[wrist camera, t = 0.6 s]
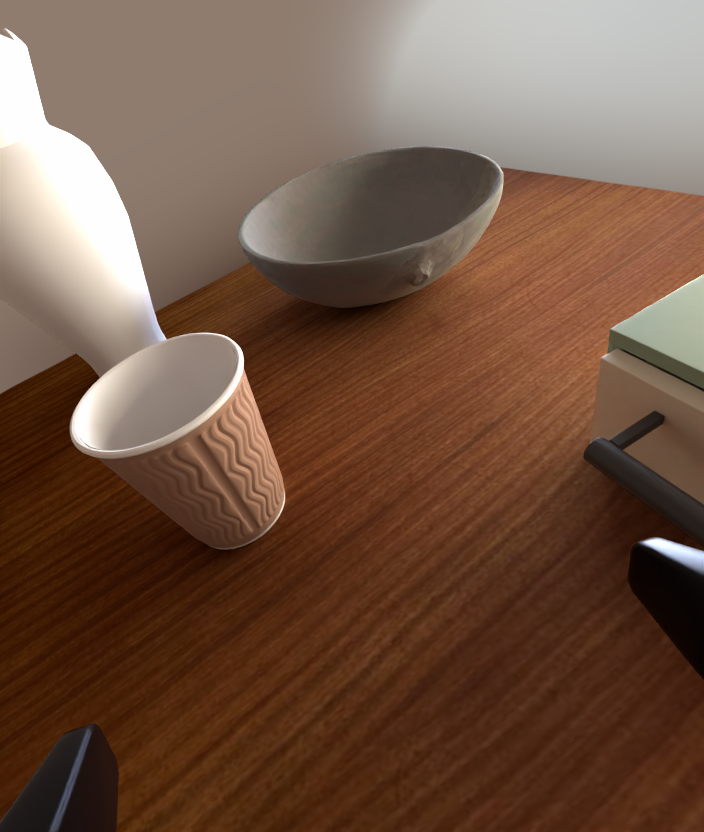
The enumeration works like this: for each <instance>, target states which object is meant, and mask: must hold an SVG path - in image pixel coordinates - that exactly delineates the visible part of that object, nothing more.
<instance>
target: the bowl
mask: <svg viewBox="0 0 704 832" xmlns="http://www.w3.org/2000/svg"><path fill="white" fill-rule="evenodd" d="M502 190H503V172H502V170H501V168H500V167H499V165H498V164H497V163H496V162H495V161H494V160H492V159H490V158H488V157H486V156H484V155H481V154H478V153H474V152H471V151H466V150H461V149H455V148H448V147H430V146H424V147H423V146H422V147H421V146H417V147H405V148H396V149H390V150H383V151H377V152H372V153H367V154H362V155H358V156H354V157H350V158H346V159H343V160H340V161H337V162H334V163H331V164H328V165H325V166H322V167H320V168H317V169H315V170H312V171H310V172H307V173H305V174H303V175H301V176H298V177H297V178H295V179H293V180H291V181H289V182H287V183H285V184H283V185H281V186H280V187H278V188H276V189H275V190H273V191H272V192H270V193H269V194H268V195H266V196H265V197H264V198H263V199H261V200H260V201H259V202H258V203H257V204H256V205H254V207H252V208H251V209H250V210H249V211H248V212H247V213H246V215H245V216H244V218H243V220H242V221H241V224H240V227H239V231H238V239H239V242H240V245H241V247H242V250H243V251H244V253H245V254H246V256H247V257H248V259H249V260H250V262H251V263H252V264H253V265H254V266H255V267H256V268H257V269H258V270H259V271H260V272H261V274H263V275H264V276H265V277H266V278H267V279H268V280H269V281H271V282H272V283H273V284H275V285H276V286H277V287H279V288H280V289H282V290H284V291H285V292H287V293H289V294H291V295H293V296H295V297H297V298H299V299H302V300H305V301H307V302H310V303H314V304H319V305H323V306H330V307H339V308H352V307H360V306H366V305H372V304H378V303H383V302H387V301H390V300H393V299H397V298H400V297H403V296H406V295H408V294H411V293H413V292H415V291H418V290H420V289H421V288H423V287H425V286H427V285H429V284H431V283H432V282H434V281H435V280H437V279H438V278H440V277H441V276H442V275H444V274H445V273H446V272H448V271H449V270H451V269H452V268H453V267H454V266H455V265H456V264H458V263H459V262H460V261H461V260H462V259H463V258H464V257H465V256H466V255H467V254H468V253H469V252H470V250H471V249H472V248H473V247H474V246H475V244H476V243H477V241H478V240H479V239H480V237H481V236H482V234H483V233H484V231H485V230H486V228H487V226H488V225H489V223H490V221H491V219H492V217H493V215H494V213H495V211H496V209H497V207H498V204H499V201H500V198H501V195H502Z"/></svg>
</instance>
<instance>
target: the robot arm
mask: <svg viewBox="0 0 704 832" xmlns="http://www.w3.org/2000/svg"><path fill="white" fill-rule="evenodd" d="M628 583H629V585H630V588H631V590H632V591H633V593H634V594H635V595H636V597H637V598H638V599H639V600H640V602H641V603H642V604H643V606H644V607H645V608H646V609H647V611H648V612H649V613H650V614H651V616H652V617H653V618H654V619H655V621H656V622H657V623H658V624H659V626H660V627H661V628H662V629H663V631H664V632H665V633H666V634H667V636H668V637H669V638H670V640H671V641H672V642H673V643H674V645H675V646H676V647H677V648H678V650H679V651H680V652H681V653H682V655H683V656H684V657H685V658H686V660H687V661H688V662H689V663H690V664H691V666H692V667H693V668H694V669H695V670H696V671H697V673H698V674H699V675H700V676H701V677H702V678H703V679H704V551H701V550H698V549H695V548H692V547H689V546H685V545H682V544H679V543H676V542H672V541H669V540H666V539H663V538H659V537H650V538H647V539H644V540H641V541H638V542H636V543H634V544H633V545H632V547H631V552H630V561H629V570H628ZM118 779H119V773H118V764H117V760H116V757H115V755H114V753H113V751H112V749H111V747H110V745H109V744H108V742H107V740H106V738H105V736H104V734H103V732H102V730H101V729H100V727H99V726H98V725H96V724H89V725H86V726H83V727H80V728H77V729H74V730H71V731H68V732H66V733H65V734H64V735H63V736H62V737H61V738H60V739H59V740H58V741H57V743H56V744H55V746H54V747H53V748H52V750H51V751H50V753H49V754H48V755H47V757H46V758H45V760H44V761H43V762H42V764H41V765H40V767H39V768H38V769H37V771H36V772H35V774H34V775H33V776H32V778H31V779H30V781H29V782H28V784H27V785H26V786H25V788H24V789H23V791H22V792H21V793H20V795H19V796H18V798H17V799H16V800H15V802H14V803H13V805H12V806H11V807H10V809H9V810H8V812H7V813H6V814H5V816H4V817H3V819H2V820H1V821H0V832H116V828H117V804H118Z"/></svg>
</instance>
